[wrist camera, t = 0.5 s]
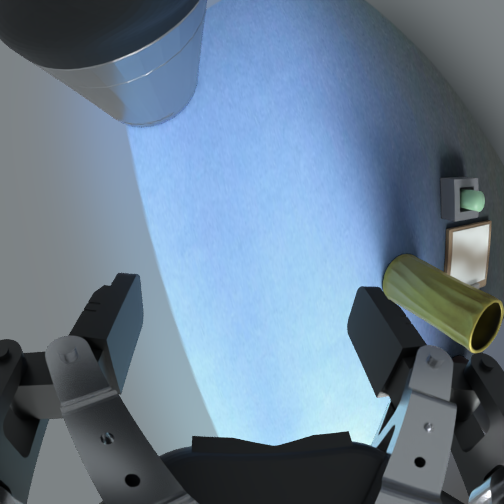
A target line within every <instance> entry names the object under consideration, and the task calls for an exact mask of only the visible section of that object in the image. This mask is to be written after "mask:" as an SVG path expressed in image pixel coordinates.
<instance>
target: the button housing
mask: <svg viewBox="0 0 504 504" xmlns="http://www.w3.org/2000/svg"><path fill="white" fill-rule="evenodd" d="M440 183H441V218H442V219H446V220H450V221H454V222H456V221H461V220H466V219H472V218H477V217H478V211H473V210H469V209H464V208H460V189H468V190H475V191H478V178H472V177H449V178H440Z"/></svg>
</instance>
